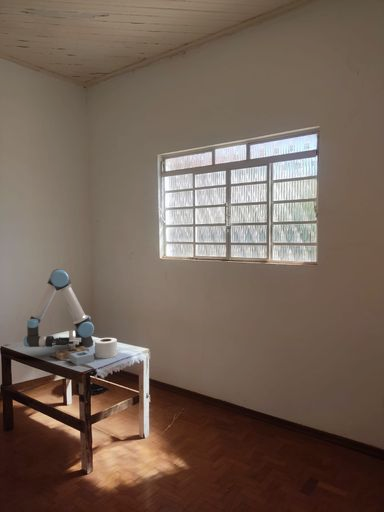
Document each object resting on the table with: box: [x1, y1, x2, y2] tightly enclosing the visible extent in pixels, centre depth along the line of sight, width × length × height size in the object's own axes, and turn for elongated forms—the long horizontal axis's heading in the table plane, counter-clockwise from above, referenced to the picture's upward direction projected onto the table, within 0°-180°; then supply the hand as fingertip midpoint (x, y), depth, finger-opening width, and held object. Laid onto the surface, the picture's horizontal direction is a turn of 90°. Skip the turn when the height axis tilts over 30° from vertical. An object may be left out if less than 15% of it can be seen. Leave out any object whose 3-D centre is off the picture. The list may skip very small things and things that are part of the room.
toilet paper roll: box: [94, 337, 118, 359], centre depth 263 cm, size 16×15×11 cm
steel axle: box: [68, 329, 76, 352], centre depth 261 cm, size 4×4×18 cm
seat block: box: [69, 350, 95, 366], centre depth 249 cm, size 12×12×5 cm
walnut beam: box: [55, 346, 90, 361], centre depth 261 cm, size 20×10×4 cm, turn 130°
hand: (79, 341), depth 261 cm, fingers open, 5 cm apart
